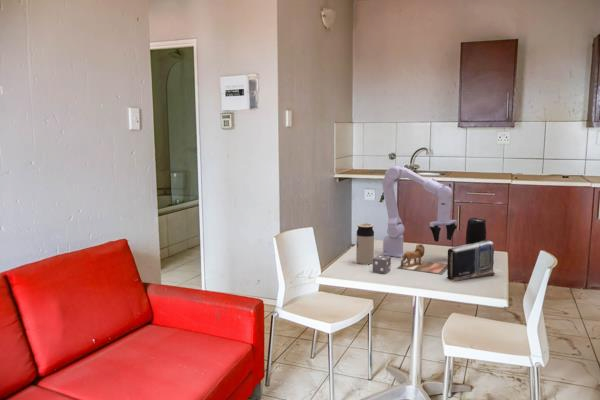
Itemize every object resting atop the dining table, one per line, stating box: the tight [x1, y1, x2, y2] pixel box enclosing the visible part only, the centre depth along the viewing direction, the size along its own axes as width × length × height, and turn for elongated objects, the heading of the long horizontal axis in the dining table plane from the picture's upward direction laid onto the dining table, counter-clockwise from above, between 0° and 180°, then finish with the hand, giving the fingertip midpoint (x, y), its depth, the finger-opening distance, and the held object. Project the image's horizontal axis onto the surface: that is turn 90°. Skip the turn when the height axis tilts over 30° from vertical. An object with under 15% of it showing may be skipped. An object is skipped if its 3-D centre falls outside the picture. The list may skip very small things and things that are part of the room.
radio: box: [446, 238, 496, 282], centre depth 212 cm, size 23×9×15 cm, turn 106°
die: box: [372, 255, 392, 275], centre depth 220 cm, size 6×6×6 cm
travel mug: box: [356, 222, 375, 265], centre depth 234 cm, size 8×8×18 cm
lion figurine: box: [400, 243, 425, 267], centre depth 229 cm, size 15×5×9 cm, turn 129°
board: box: [397, 259, 448, 275], centre depth 227 cm, size 20×17×1 cm
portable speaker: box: [465, 217, 487, 245], centre depth 238 cm, size 9×9×20 cm
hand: (442, 240), depth 237 cm, fingers open, 7 cm apart
